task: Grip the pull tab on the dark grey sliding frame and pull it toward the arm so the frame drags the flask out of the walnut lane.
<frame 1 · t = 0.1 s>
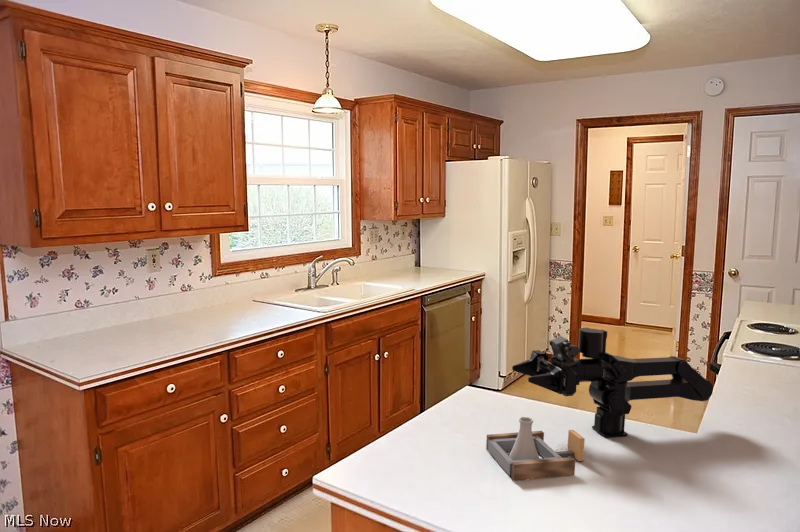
hand: (520, 373, 140), 17 cm above the counter, tool horizontal, fingers open, 9 cm apart
flask: (523, 463, 130), on the counter
lane rails: (528, 461, 130), on the counter
sliding frame: (539, 447, 130), point 3 cm above the counter, slide at 0.0 cm
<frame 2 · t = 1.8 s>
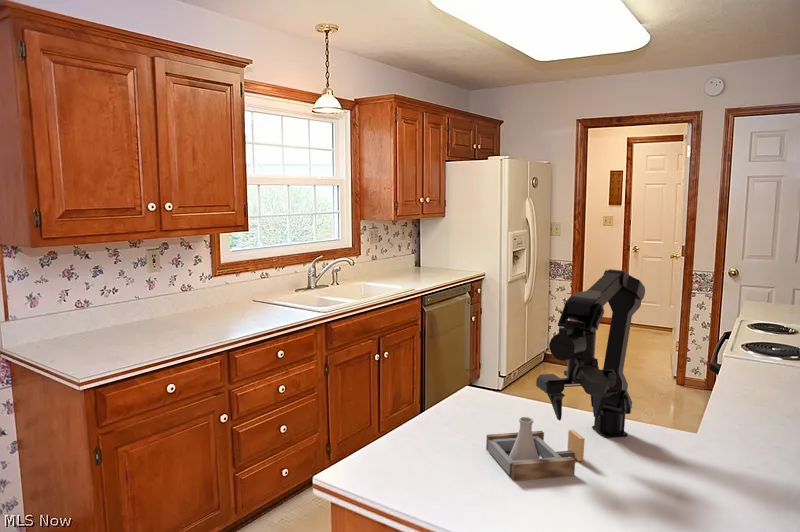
hand: (577, 418, 132), 9 cm above the counter, tool pointing down, fingers open, 9 cm apart
nothing on the counter moved.
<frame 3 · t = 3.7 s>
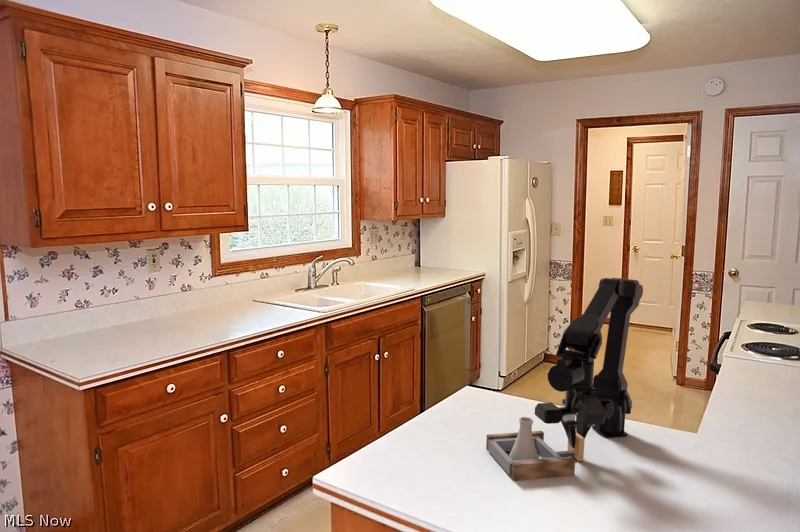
hand: (575, 447, 132), 3 cm above the counter, tool pointing down, fingers closed on sliding frame
sliding frame: (539, 447, 130), point 3 cm above the counter, slide at 0.0 cm, touching gripper
everything else where it was.
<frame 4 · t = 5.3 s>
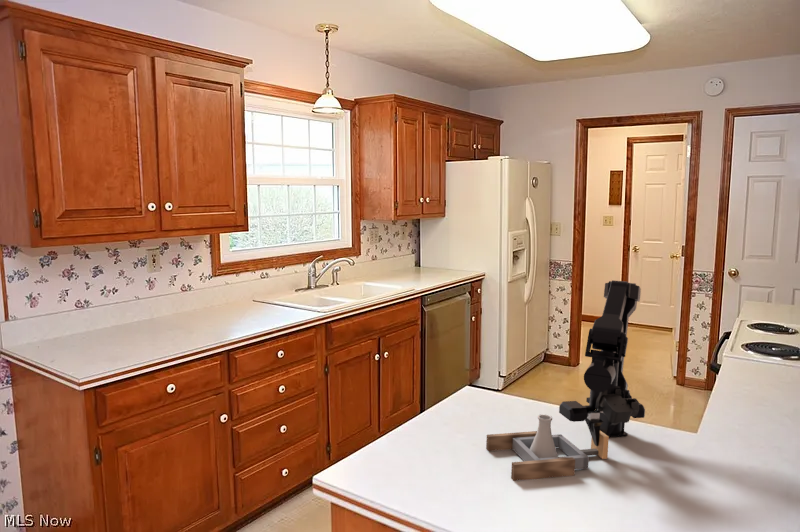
hand: (599, 445, 134), 2 cm above the counter, tool pointing down, fingers closed on sliding frame
flask: (542, 460, 131), on the counter, touching sliding frame
sliding frame: (563, 446, 132), point 3 cm above the counter, slide at 6.1 cm, touching gripper, flask
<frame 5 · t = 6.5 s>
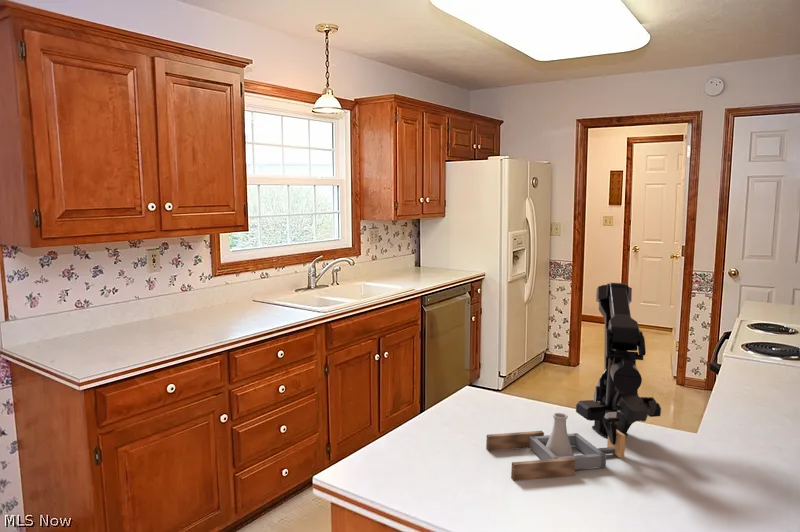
hand: (615, 443, 135), 2 cm above the counter, tool pointing down, fingers closed on sliding frame
flask: (558, 458, 133), on the counter
sliding frame: (580, 444, 133), point 3 cm above the counter, slide at 10.3 cm, touching gripper
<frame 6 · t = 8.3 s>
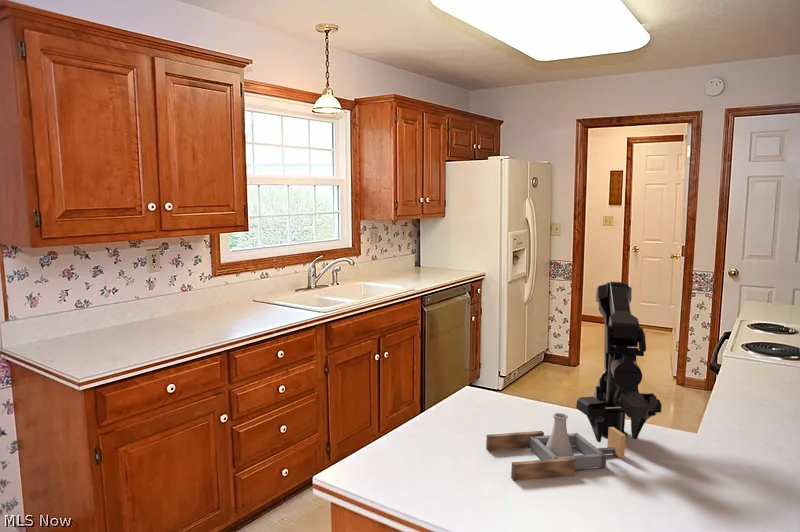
hand: (616, 440, 134), 3 cm above the counter, tool pointing down, fingers open, 9 cm apart
sliding frame: (580, 444, 133), point 3 cm above the counter, slide at 10.3 cm
everything else where it was.
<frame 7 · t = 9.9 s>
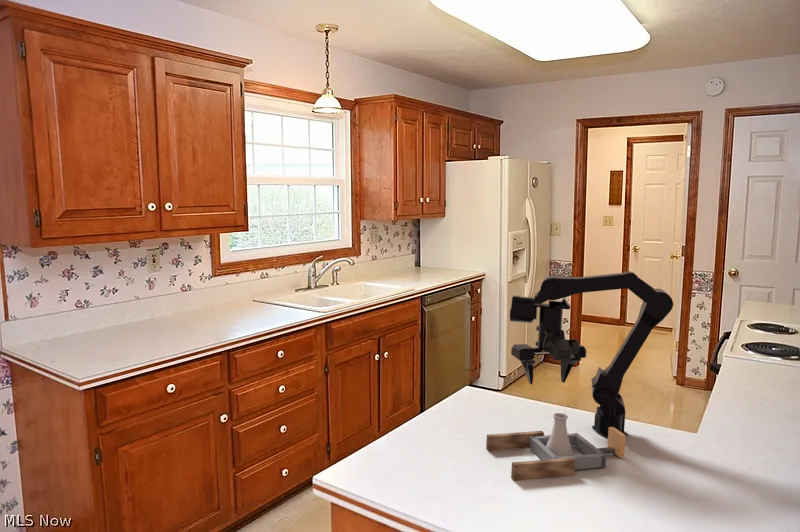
hand: (547, 383, 151), 11 cm above the counter, tool pointing down, fingers open, 9 cm apart
nothing on the counter moved.
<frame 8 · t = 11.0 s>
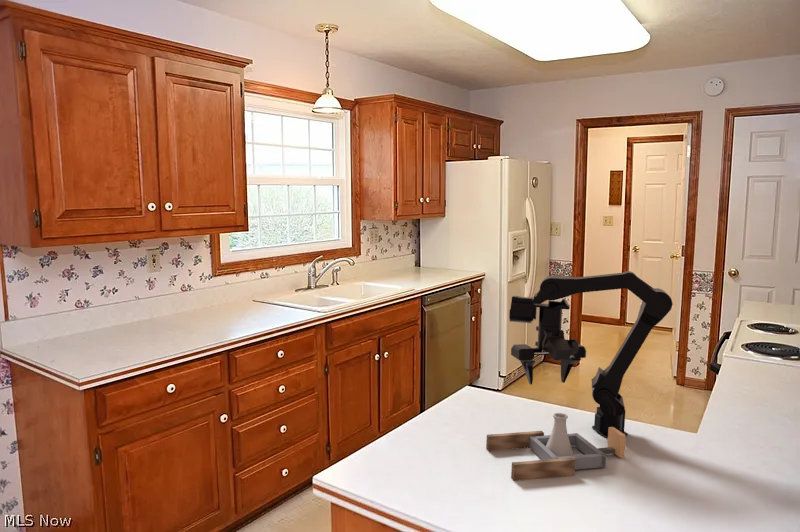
hand: (546, 383, 151), 11 cm above the counter, tool pointing down, fingers open, 9 cm apart
nothing on the counter moved.
at the end: sliding frame slide at 10.3 cm; flask inside the target area (1.5 cm from its centre), on the counter; flask tilted 0° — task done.
